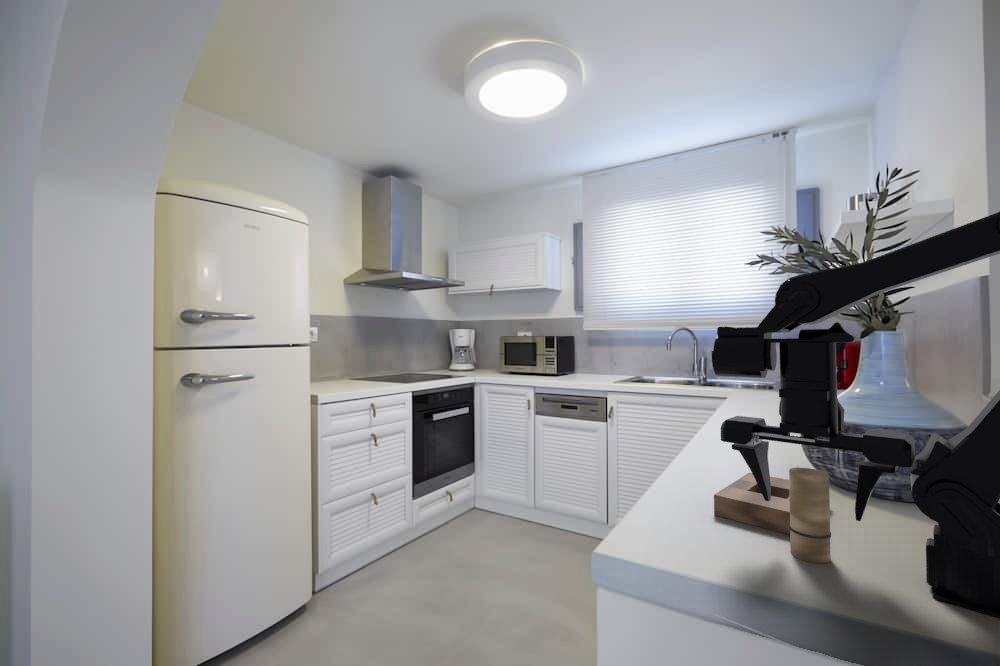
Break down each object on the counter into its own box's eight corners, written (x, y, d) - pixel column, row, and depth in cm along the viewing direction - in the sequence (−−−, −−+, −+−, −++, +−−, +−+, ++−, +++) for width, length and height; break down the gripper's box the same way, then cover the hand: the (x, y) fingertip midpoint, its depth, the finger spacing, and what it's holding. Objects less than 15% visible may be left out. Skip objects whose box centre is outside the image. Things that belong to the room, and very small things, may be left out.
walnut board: (826, 506, 71) (825, 486, 71) (800, 537, 60) (800, 514, 60) (749, 489, 79) (749, 472, 79) (714, 514, 68) (713, 494, 68)
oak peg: (834, 555, 55) (833, 472, 55) (827, 567, 52) (826, 479, 52) (794, 544, 58) (793, 465, 58) (785, 555, 55) (784, 472, 55)
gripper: (916, 380, 54) (920, 511, 54) (746, 373, 67) (748, 479, 67) (908, 387, 46) (913, 541, 46) (718, 377, 60) (720, 497, 59)
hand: (810, 509), depth 55 cm, fingers open, 9 cm apart
